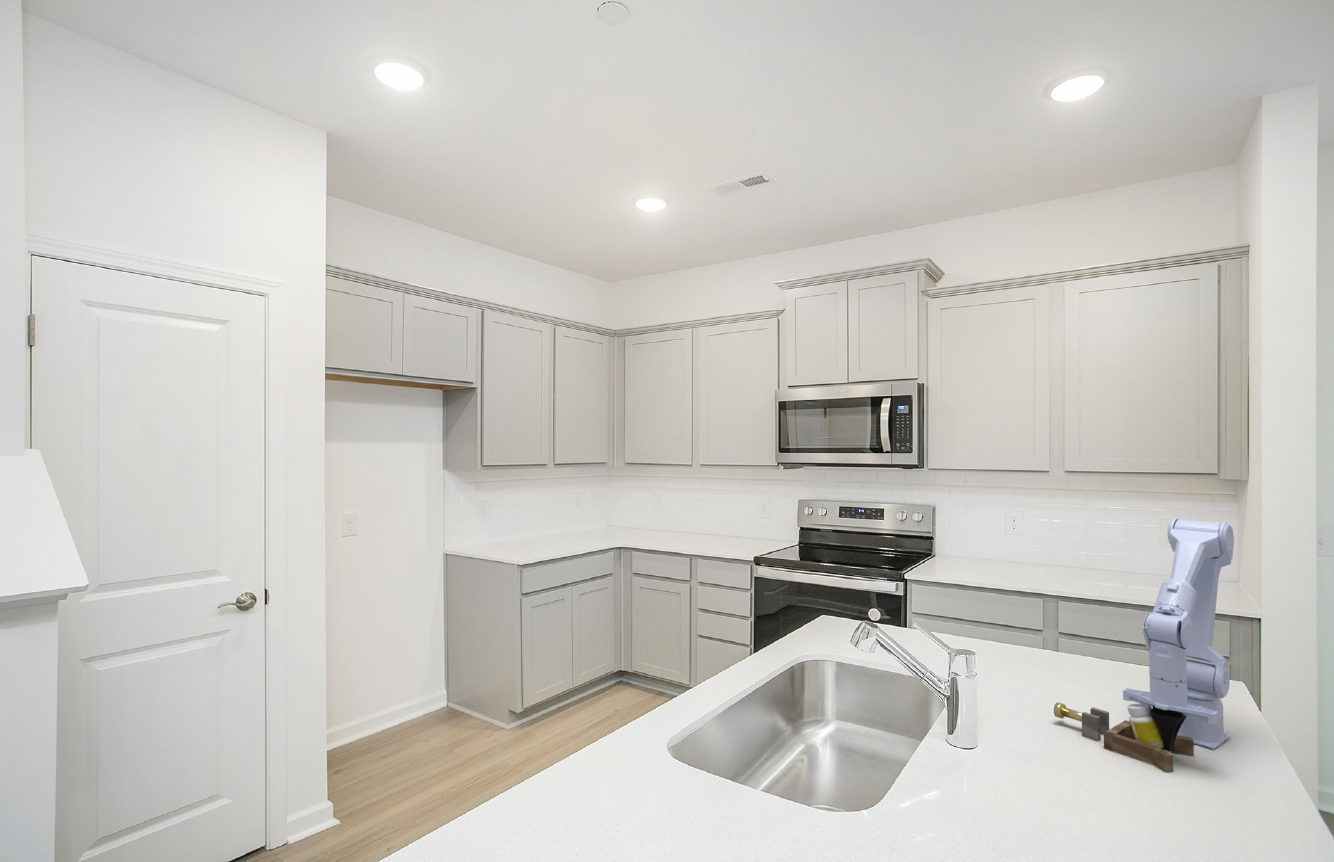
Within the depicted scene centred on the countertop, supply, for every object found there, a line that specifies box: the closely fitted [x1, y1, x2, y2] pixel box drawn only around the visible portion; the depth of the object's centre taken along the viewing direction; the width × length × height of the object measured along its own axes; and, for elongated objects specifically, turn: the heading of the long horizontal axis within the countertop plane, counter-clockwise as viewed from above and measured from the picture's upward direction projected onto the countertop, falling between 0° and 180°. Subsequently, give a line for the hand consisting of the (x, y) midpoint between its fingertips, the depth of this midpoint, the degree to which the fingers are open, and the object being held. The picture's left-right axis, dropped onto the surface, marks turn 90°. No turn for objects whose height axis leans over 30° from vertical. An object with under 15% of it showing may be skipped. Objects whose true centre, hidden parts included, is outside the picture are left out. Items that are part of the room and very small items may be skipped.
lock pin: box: [1053, 702, 1083, 723], centre depth 140 cm, size 3×7×3 cm, turn 35°
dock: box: [1081, 707, 1195, 773], centre depth 131 cm, size 13×16×5 cm
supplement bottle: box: [1126, 702, 1169, 753], centre depth 129 cm, size 5×5×8 cm
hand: (1169, 749), depth 126 cm, fingers closed
